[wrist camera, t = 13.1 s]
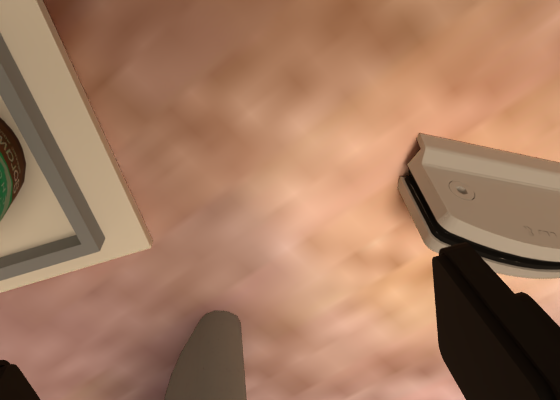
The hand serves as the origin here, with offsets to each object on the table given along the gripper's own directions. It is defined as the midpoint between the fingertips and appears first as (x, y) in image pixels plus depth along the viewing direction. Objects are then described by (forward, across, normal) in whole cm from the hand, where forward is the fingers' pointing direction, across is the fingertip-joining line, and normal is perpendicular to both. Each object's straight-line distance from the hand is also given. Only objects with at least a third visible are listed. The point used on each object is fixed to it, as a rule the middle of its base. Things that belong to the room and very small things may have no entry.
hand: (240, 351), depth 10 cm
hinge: (+27, -20, +15) cm, 37 cm away
